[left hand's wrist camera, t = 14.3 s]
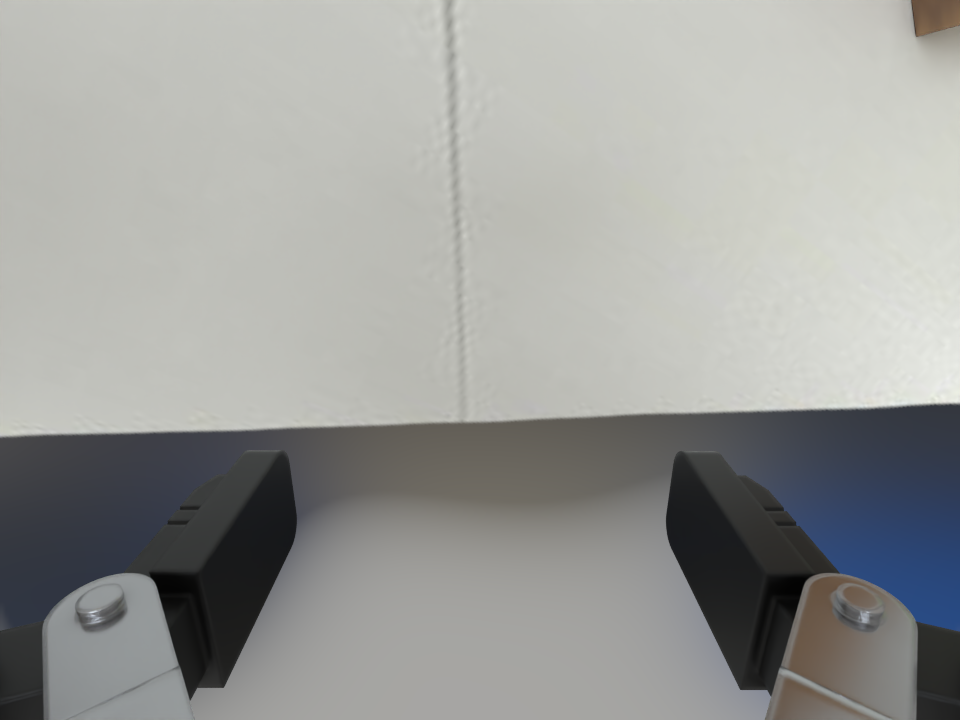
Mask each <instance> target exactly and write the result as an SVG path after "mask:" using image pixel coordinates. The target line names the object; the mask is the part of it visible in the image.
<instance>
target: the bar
mask: <svg viewBox="0 0 960 720" xmlns="http://www.w3.org/2000/svg"><path fill="white" fill-rule="evenodd" d="M912 6H913V14H914V22H915V30H916V36H917V37H918V36H921V35H925V34H929V33H932V32H936V31H940V30H944V29H947V28H951V27H955V26H958V25H960V0H912Z"/></svg>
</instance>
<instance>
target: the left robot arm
mask: <svg viewBox="0 0 960 720" xmlns="http://www.w3.org/2000/svg"><path fill="white" fill-rule="evenodd" d="M296 525H297V515H296V507H295V500H294V493H293V486H292V479H291V471H290V464H289V459H288V456H287V453H286V452H285V451H282V450H248V451H245V452H244V453H243V454H242V455H241V456H240V458H239V459H238V460H237V461H236V463H235V464H234V465H233V467H232V468H231V469H230V470H229V472H228V473H227V474H226V475H217V476H215V477H213V478H212V479H210V480H209V481H207V482H206V483H204V484H202V485H201V486H199V487H198V488H196V489H195V490H194V491H193V492H192V493H191V495H190V496H189V497H188V498H187V499H186V501H185V502H184V503H183V504H182V505H181V506H180V510H177V511H176V512H175V513H174V514H173V516H172V517H171V518H170V519H169V520H168V524H167V525H164V526H163V527H162V528H161V530H160V531H159V532H158V533H157V534H156V535H155V537H154V538H153V539H152V540H151V541H150V543H149V544H148V545H147V546H146V547H145V548H144V550H143V551H142V552H141V553H140V554H139V555H138V557H137V558H136V559H135V560H134V561H133V562H132V564H131V565H130V566H129V567H128V568H127V570H126V571H125V572H124V573H123V574H116V575H112V576H107V577H104V578H101V579H98V580H96V581H93V582H91V583H88V584H87V585H84V586H83V587H81V588H79V589H77V590H75V591H74V592H72V593H71V594H69V595H68V596H66V597H65V598H64V599H63V600H61V601H60V602H59V603H58V604H57V605H56V606H55V607H54V608H53V609H52V610H51V611H50V613H49V614H48V616H47V617H46V619H45V621H42V622H37V623H33V624H28V625H24V626H20V627H15V628H11V629H6V630H2V631H0V720H195V717H194V714H193V710H192V707H191V704H190V700H191V698H192V696H193V695H194V693H195V691H196V689H197V688H224V686H225V684H226V682H227V680H228V678H229V676H230V674H231V672H232V670H233V668H234V666H235V664H236V661H237V659H238V657H239V655H240V653H241V651H242V649H243V647H244V645H245V643H246V641H247V639H248V637H249V634H250V632H251V630H252V628H253V626H254V624H255V622H256V620H257V618H258V616H259V614H260V611H261V609H262V607H263V605H264V603H265V601H266V599H267V597H268V595H269V593H270V591H271V589H272V587H273V585H274V582H275V580H276V578H277V576H278V574H279V572H280V570H281V568H282V566H283V564H284V562H285V560H286V557H287V555H288V553H289V551H290V549H291V547H292V545H293V542H294V538H295V533H296ZM666 529H667V535H668V540H669V543H670V546H671V549H672V550H673V553H674V555H675V557H676V559H677V561H678V563H679V565H680V567H681V569H682V571H683V573H684V575H685V577H686V579H687V581H688V583H689V585H690V587H691V590H692V592H693V594H694V596H695V598H696V600H697V602H698V604H699V606H700V608H701V610H702V612H703V614H704V616H705V618H706V620H707V622H708V624H709V627H710V629H711V631H712V633H713V635H714V637H715V639H716V641H717V643H718V645H719V647H720V649H721V651H722V653H723V655H724V657H725V659H726V661H727V663H728V666H729V668H730V670H731V672H732V674H733V676H734V678H735V680H736V682H737V684H738V686H739V688H740V690H768V692H769V694H770V696H771V700H770V703H769V707H768V710H767V714H766V717H765V720H960V632H958V631H954V630H949V629H945V628H941V627H937V626H932V625H928V624H923V623H920V622H916V621H915V619H914V617H913V616H912V614H911V613H910V611H909V610H908V609H907V608H906V607H905V606H904V605H903V604H902V603H901V602H900V601H899V600H898V599H896V598H895V597H894V596H892V595H891V594H889V593H888V592H886V591H885V590H883V589H881V588H879V587H877V586H876V585H874V584H872V583H869V582H867V581H864V580H862V579H859V578H856V577H853V576H848V575H844V574H840V573H839V572H838V570H837V569H836V568H835V567H834V566H833V565H832V564H831V562H830V561H829V560H828V559H827V558H826V556H825V555H824V554H823V553H822V552H821V551H820V550H819V548H818V547H817V546H816V545H815V544H814V543H813V541H812V540H811V539H810V538H809V537H808V536H807V534H806V533H805V532H804V531H803V530H802V529H801V527H800V526H796V522H795V520H794V519H793V518H792V517H791V516H790V515H789V514H788V512H787V511H784V508H783V507H782V505H781V504H780V503H779V502H778V501H777V500H776V498H775V497H774V496H773V495H772V494H771V493H770V491H769V490H767V489H766V488H764V487H762V486H761V485H759V484H758V483H756V482H755V481H753V480H752V479H750V478H748V477H747V476H737V475H736V473H735V472H734V471H733V470H732V468H731V467H730V466H729V465H728V463H727V462H726V461H725V460H724V458H723V457H722V456H721V455H720V454H719V453H718V452H716V451H680V452H678V453H677V454H676V457H675V459H674V464H673V471H672V479H671V486H670V493H669V500H668V507H667V514H666Z"/></svg>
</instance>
